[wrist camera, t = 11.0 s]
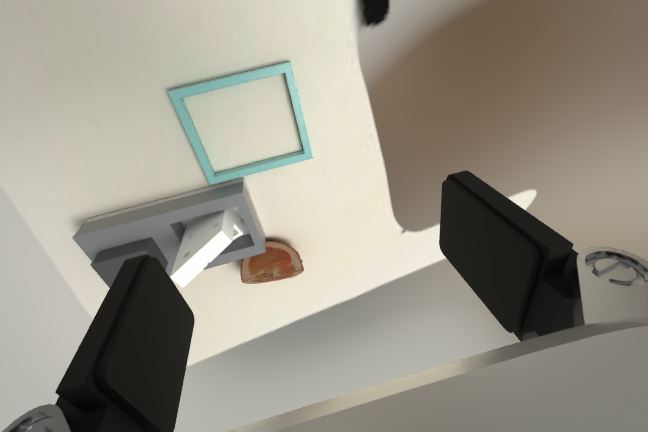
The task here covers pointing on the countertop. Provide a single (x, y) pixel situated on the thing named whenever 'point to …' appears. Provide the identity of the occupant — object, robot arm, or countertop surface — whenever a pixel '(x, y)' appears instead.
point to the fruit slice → (271, 264)
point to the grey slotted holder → (168, 229)
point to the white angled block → (205, 242)
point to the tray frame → (232, 80)
